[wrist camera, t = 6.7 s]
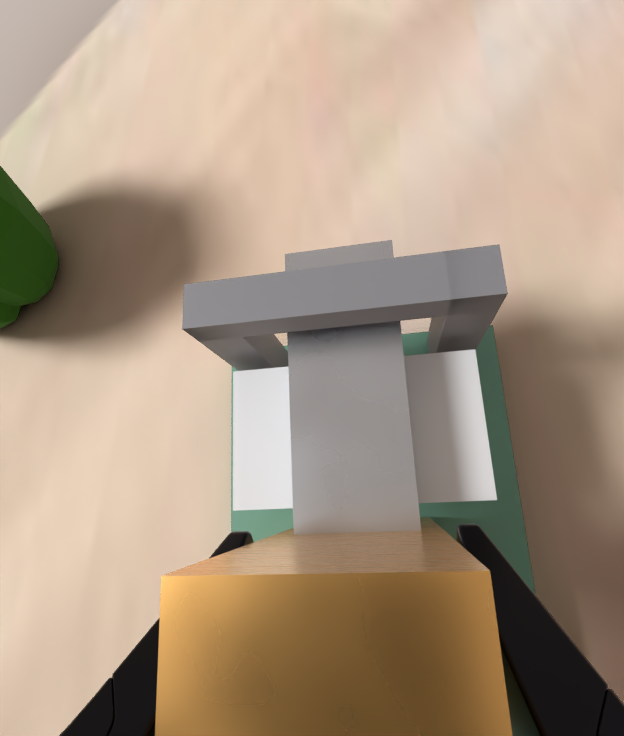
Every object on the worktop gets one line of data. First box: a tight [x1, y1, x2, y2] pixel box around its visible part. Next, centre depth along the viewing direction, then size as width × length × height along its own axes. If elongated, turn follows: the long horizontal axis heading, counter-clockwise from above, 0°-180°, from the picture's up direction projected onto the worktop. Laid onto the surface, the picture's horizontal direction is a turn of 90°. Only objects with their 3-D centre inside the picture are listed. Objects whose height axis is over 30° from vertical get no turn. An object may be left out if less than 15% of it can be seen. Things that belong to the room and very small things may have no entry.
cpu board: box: [182, 245, 535, 594], centre depth 12 cm, size 20×10×8 cm, turn 3°
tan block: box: [155, 240, 512, 736], centre depth 11 cm, size 10×4×10 cm, turn 3°
